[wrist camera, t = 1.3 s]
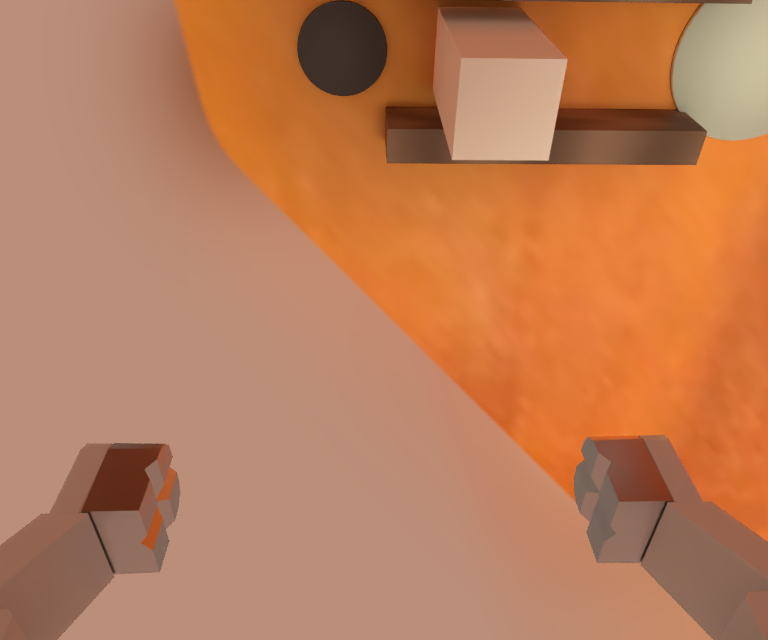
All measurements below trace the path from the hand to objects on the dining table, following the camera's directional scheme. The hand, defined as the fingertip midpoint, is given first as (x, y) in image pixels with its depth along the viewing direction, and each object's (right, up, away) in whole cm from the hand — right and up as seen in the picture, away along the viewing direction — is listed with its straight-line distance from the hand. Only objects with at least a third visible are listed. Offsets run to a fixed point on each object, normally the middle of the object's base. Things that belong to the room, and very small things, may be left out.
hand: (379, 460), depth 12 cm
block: (+5, +18, +23) cm, 30 cm away
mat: (+22, +18, +24) cm, 37 cm away
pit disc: (-2, +18, +23) cm, 29 cm away
